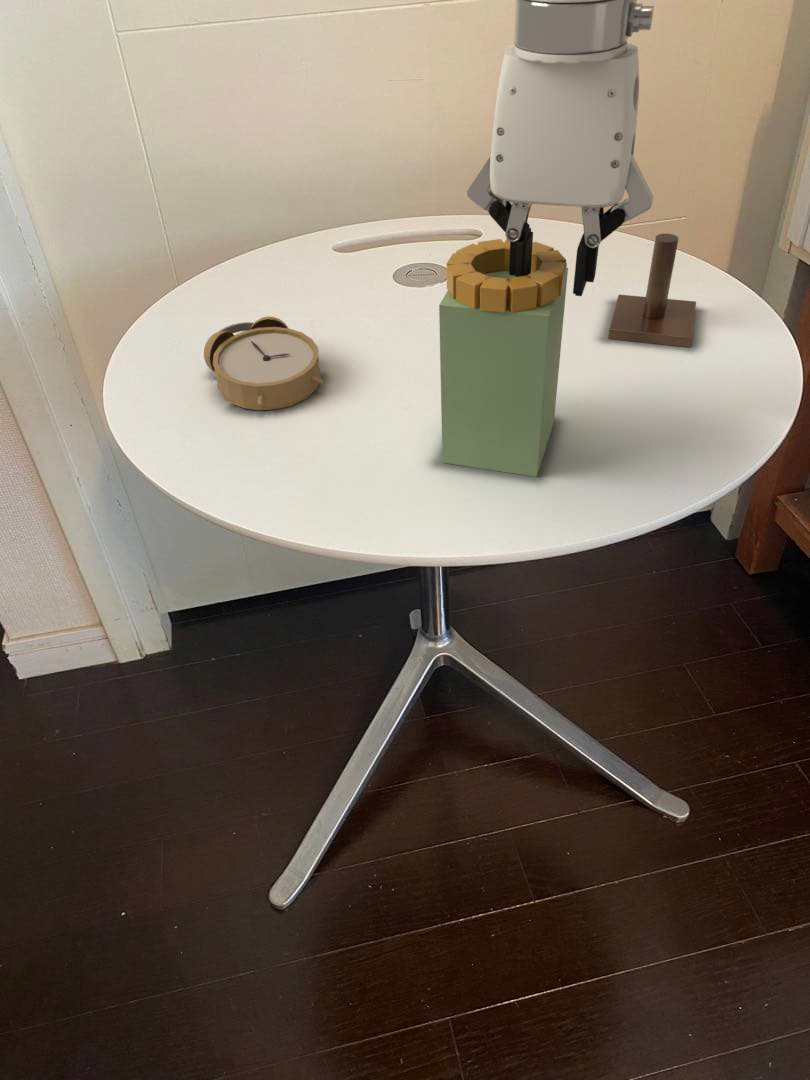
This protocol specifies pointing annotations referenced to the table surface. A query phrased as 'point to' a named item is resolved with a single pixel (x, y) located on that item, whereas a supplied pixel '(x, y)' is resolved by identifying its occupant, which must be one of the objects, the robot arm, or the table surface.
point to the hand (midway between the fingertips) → (551, 283)
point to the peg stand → (655, 305)
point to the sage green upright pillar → (499, 383)
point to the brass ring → (504, 292)
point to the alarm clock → (263, 364)
